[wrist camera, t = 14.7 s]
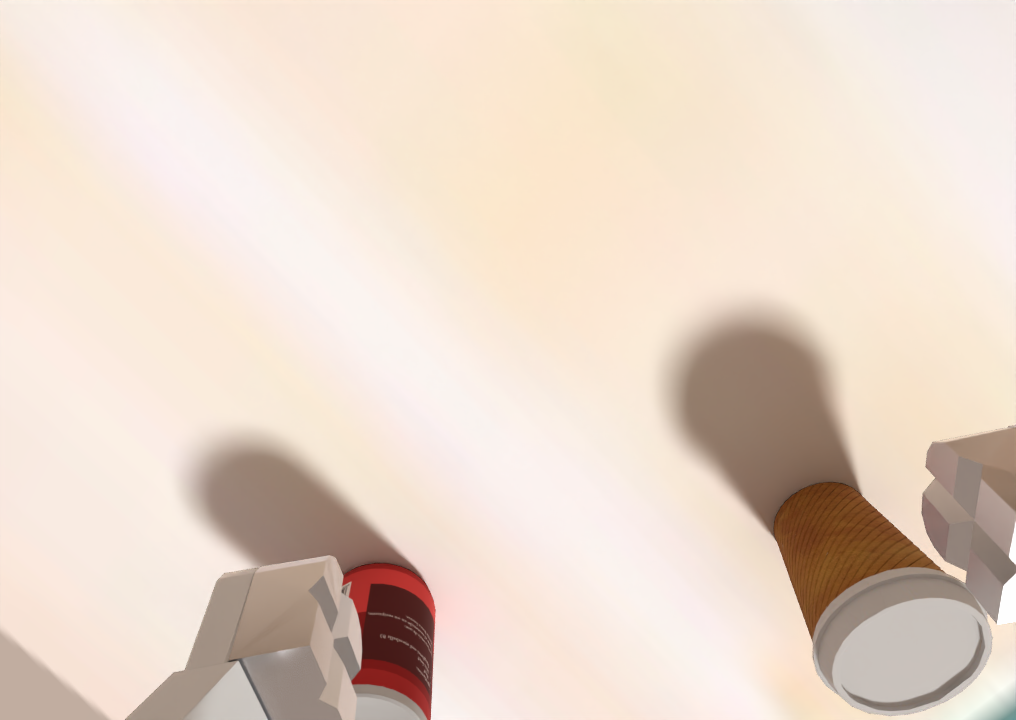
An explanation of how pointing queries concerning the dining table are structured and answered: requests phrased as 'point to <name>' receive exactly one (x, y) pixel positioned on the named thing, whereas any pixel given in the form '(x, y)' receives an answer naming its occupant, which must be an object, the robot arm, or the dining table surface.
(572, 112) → the dining table surface
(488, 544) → the dining table surface
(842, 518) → the disposable coffee cup
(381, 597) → the canned food
